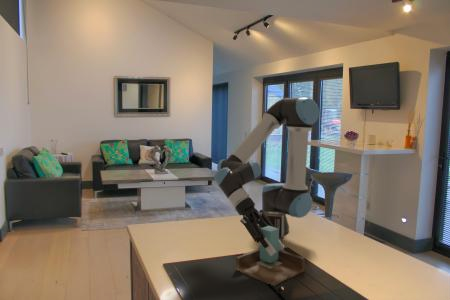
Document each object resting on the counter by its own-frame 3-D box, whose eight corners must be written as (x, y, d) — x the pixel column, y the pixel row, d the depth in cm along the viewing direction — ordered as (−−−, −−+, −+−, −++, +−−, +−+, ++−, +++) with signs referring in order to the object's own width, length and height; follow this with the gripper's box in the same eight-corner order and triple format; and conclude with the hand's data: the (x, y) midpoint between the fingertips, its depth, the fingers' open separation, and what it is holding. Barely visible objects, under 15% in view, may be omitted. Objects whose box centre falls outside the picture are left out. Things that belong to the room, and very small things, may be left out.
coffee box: (284, 249, 164) (285, 212, 162) (281, 254, 158) (282, 216, 156) (263, 246, 167) (264, 210, 165) (259, 251, 160) (260, 214, 159)
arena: (267, 257, 155) (267, 245, 154) (304, 270, 142) (304, 258, 142) (235, 270, 143) (236, 257, 142) (273, 286, 130) (274, 272, 129)
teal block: (268, 255, 150) (268, 225, 148) (278, 259, 146) (279, 228, 145) (259, 258, 146) (260, 228, 145) (269, 262, 143) (270, 231, 141)
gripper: (248, 203, 161) (282, 249, 153) (222, 212, 146) (258, 264, 138) (260, 192, 157) (295, 239, 149) (234, 201, 142) (271, 253, 134)
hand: (277, 251), depth 144 cm, fingers closed on teal block, 6 cm apart
